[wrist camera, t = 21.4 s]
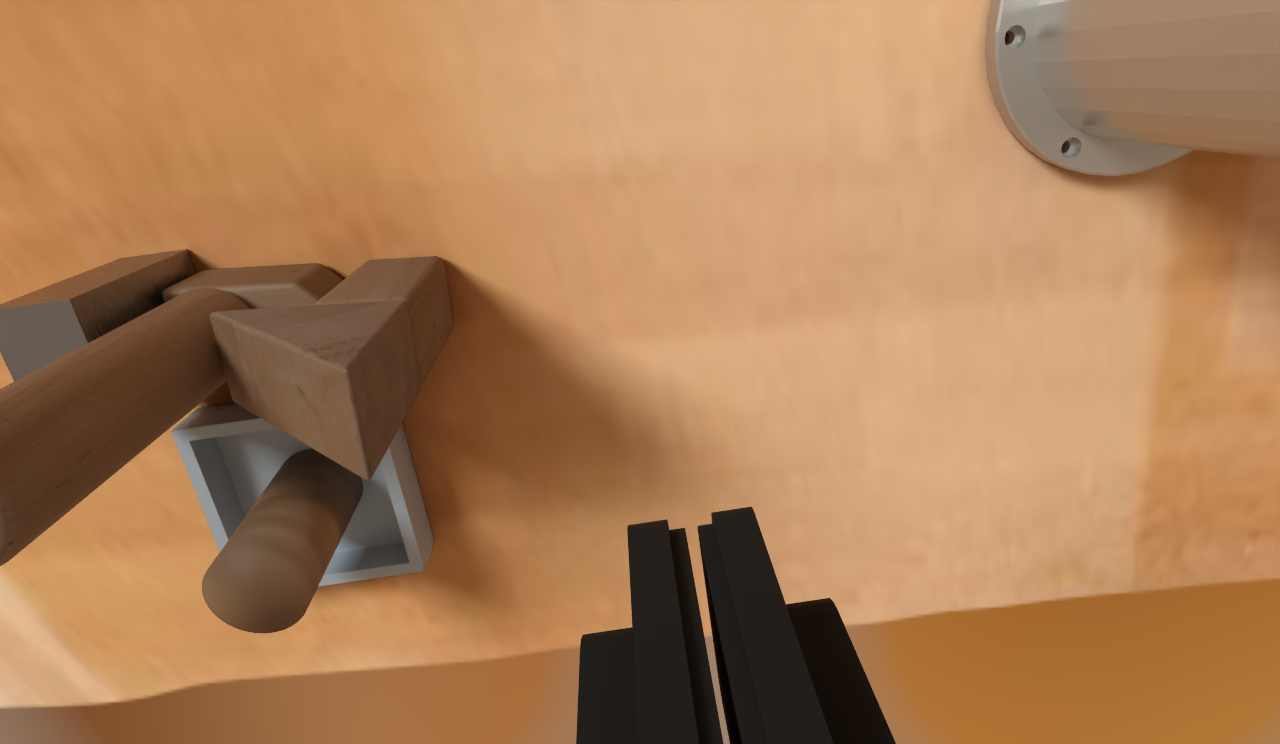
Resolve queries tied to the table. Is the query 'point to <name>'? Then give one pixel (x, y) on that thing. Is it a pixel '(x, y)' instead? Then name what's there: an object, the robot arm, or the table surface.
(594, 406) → the table surface
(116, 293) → the rectangular block
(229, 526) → the tray
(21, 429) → the wooden blocks
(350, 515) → the dowel
